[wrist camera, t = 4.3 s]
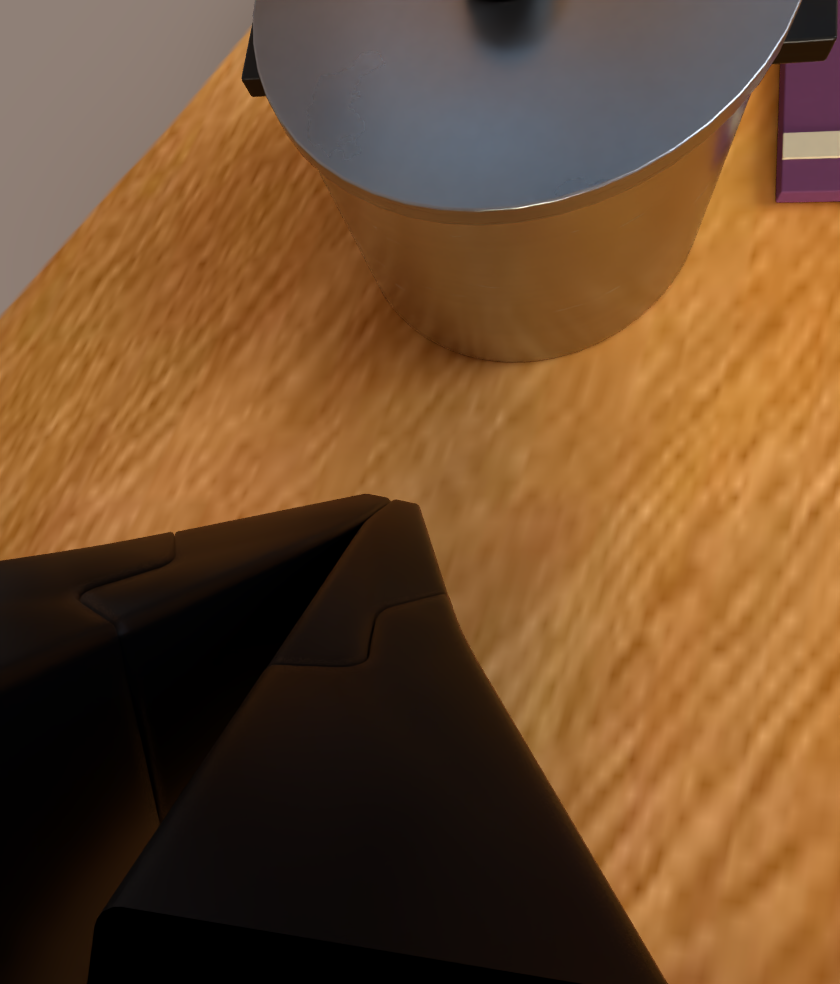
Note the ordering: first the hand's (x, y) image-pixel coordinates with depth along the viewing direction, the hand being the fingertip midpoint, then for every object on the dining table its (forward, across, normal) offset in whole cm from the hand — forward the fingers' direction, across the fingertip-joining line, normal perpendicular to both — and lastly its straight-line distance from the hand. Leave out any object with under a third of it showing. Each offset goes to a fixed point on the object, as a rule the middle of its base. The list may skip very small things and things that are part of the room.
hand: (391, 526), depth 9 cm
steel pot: (+20, 0, +3) cm, 20 cm away
